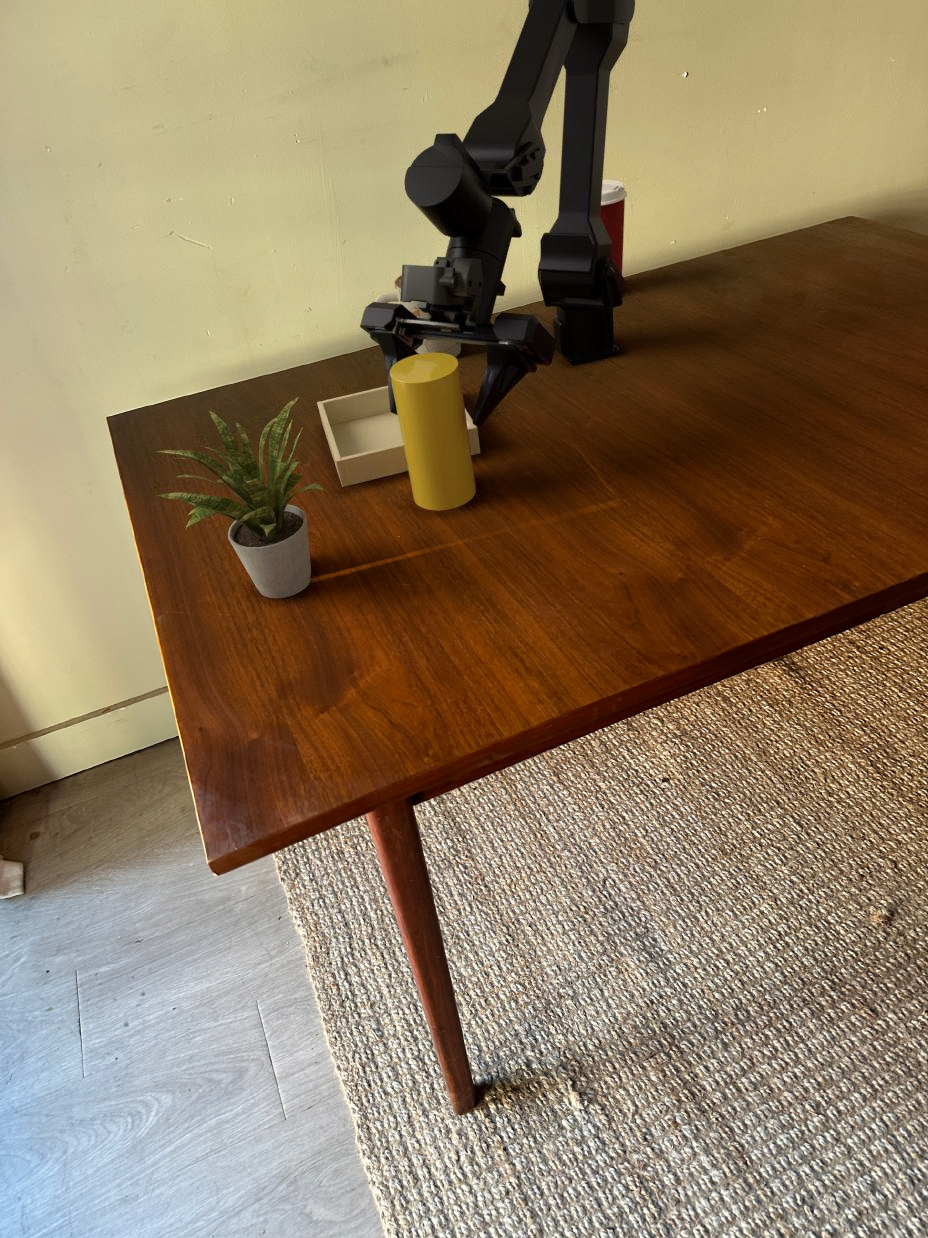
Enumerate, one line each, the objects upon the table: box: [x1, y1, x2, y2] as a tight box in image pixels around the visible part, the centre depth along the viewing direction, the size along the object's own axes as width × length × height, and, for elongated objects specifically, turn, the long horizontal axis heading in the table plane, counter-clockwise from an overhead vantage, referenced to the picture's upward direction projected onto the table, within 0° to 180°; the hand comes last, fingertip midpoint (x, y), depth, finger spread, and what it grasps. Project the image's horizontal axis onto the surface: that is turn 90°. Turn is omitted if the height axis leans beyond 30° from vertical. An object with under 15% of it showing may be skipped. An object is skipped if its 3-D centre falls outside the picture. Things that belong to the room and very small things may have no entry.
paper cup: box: [600, 179, 628, 275], centre depth 126 cm, size 8×8×14 cm
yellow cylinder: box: [390, 353, 477, 511], centre depth 89 cm, size 6×6×14 cm
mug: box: [374, 274, 462, 358], centre depth 119 cm, size 8×13×10 cm, turn 78°
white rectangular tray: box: [316, 385, 481, 488], centre depth 102 cm, size 15×15×4 cm
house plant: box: [154, 396, 326, 599], centre depth 81 cm, size 14×14×16 cm
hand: (434, 419), depth 88 cm, fingers open, 9 cm apart
